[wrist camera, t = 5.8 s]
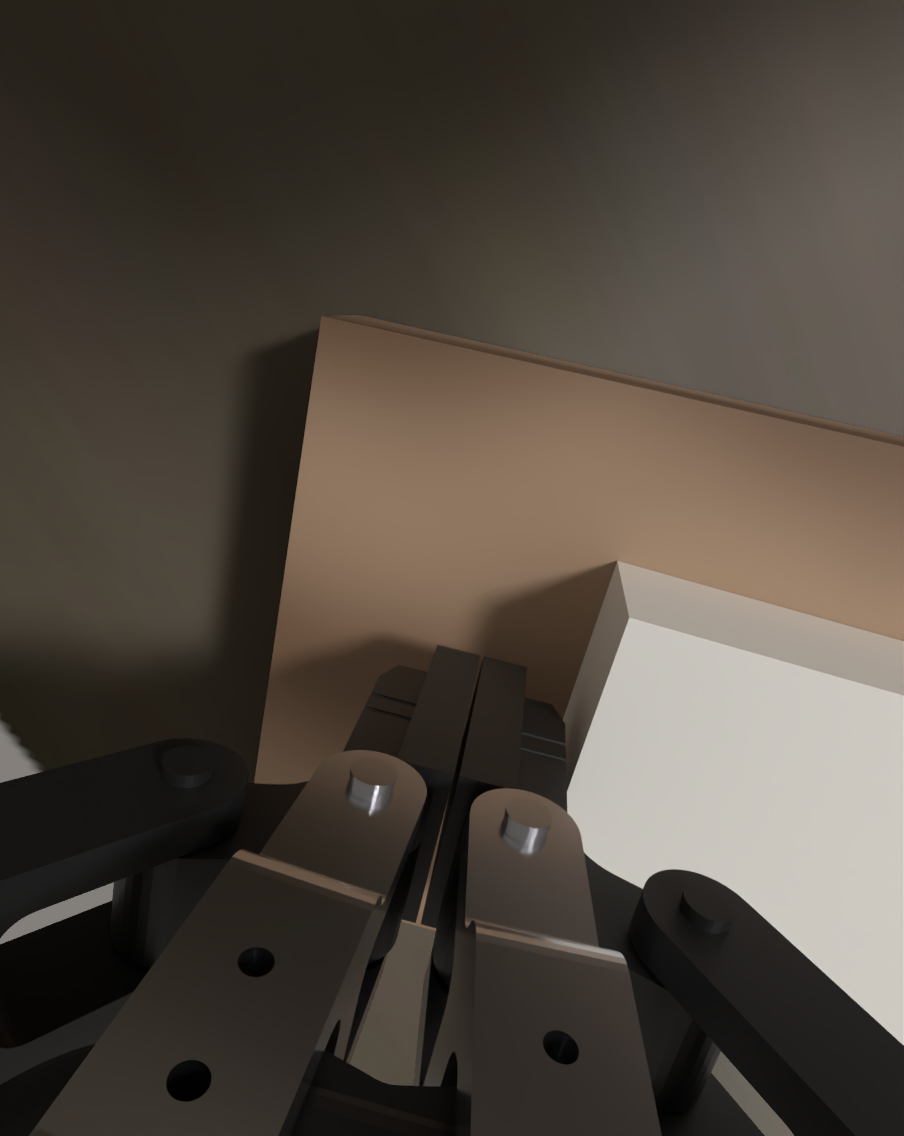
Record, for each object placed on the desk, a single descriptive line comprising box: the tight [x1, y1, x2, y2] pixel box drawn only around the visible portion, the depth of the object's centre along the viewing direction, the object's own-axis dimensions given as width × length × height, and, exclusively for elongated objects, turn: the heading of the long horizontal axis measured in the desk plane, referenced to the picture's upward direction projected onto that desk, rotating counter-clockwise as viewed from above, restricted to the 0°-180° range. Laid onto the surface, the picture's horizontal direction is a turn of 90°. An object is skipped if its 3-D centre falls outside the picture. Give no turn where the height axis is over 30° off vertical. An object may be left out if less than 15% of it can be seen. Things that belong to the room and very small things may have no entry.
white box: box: [563, 561, 904, 1045], centre depth 12 cm, size 6×9×2 cm, turn 76°
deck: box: [254, 315, 904, 931], centre depth 15 cm, size 11×12×2 cm
